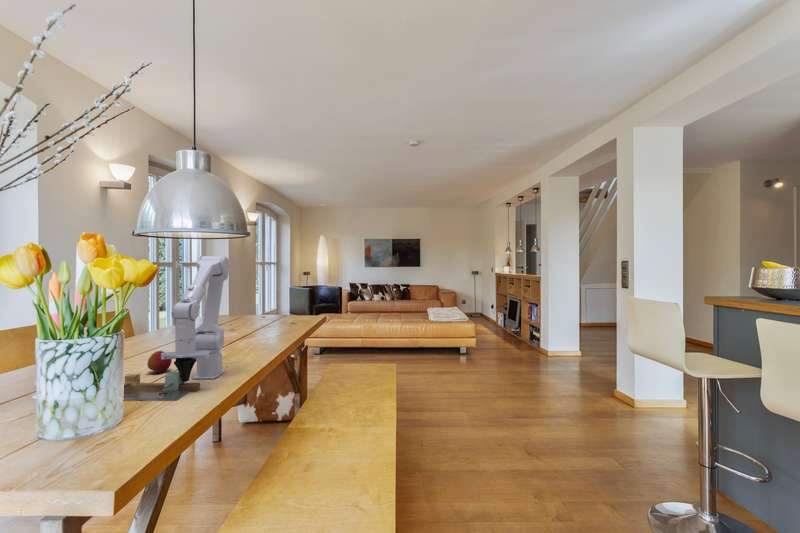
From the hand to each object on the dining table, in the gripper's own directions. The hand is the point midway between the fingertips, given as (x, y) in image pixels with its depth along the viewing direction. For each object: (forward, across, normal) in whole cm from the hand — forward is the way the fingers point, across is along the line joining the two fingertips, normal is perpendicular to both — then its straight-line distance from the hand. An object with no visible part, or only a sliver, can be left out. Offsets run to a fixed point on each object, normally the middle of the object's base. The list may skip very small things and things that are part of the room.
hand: (185, 381), depth 131 cm
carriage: (+3, -3, -2) cm, 5 cm away
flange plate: (+3, -9, -6) cm, 11 cm away
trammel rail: (+3, -8, -2) cm, 9 cm away
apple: (+3, -20, +21) cm, 29 cm away
